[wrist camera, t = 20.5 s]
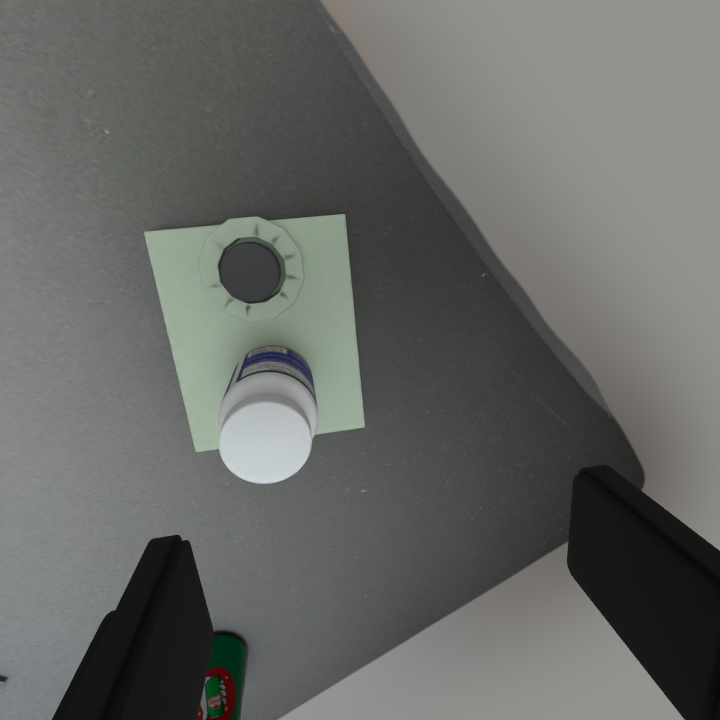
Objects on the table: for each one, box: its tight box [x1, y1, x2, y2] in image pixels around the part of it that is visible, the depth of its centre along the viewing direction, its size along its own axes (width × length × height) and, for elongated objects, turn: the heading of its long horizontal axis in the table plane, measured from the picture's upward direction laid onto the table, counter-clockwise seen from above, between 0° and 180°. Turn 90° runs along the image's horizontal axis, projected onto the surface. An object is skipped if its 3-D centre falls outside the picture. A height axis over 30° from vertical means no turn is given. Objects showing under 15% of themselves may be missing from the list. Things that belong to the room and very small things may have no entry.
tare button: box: [220, 242, 281, 302], centre depth 26 cm, size 4×4×2 cm
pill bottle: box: [218, 344, 318, 484], centre depth 26 cm, size 6×6×10 cm
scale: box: [144, 214, 365, 452], centre depth 30 cm, size 16×13×4 cm
